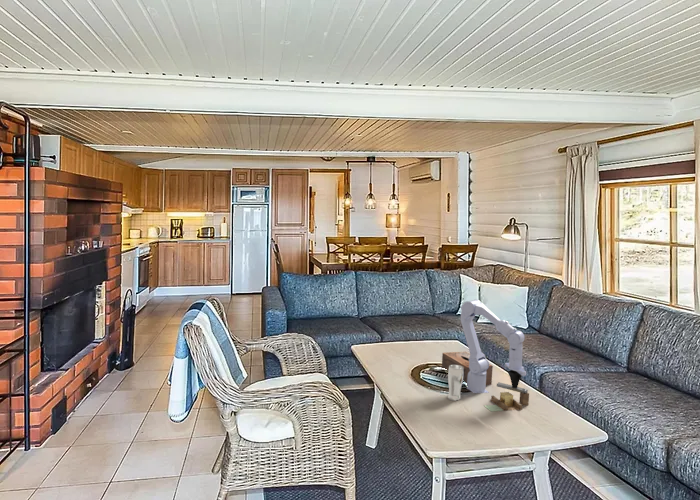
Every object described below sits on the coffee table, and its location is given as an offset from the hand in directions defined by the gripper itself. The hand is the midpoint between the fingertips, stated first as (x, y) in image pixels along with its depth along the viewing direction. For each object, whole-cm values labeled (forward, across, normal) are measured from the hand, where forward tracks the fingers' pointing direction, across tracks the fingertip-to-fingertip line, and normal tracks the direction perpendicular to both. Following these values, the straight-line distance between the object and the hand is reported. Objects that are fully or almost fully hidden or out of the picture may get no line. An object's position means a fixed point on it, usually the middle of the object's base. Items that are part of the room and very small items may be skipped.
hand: (514, 386), depth 222 cm
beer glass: (+6, +7, +27) cm, 28 cm away
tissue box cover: (+6, +35, +7) cm, 36 cm away
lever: (+1, 0, +1) cm, 2 cm away
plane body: (+7, -4, +4) cm, 9 cm away
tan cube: (+6, -4, +7) cm, 10 cm away
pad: (+7, -7, +15) cm, 18 cm away
